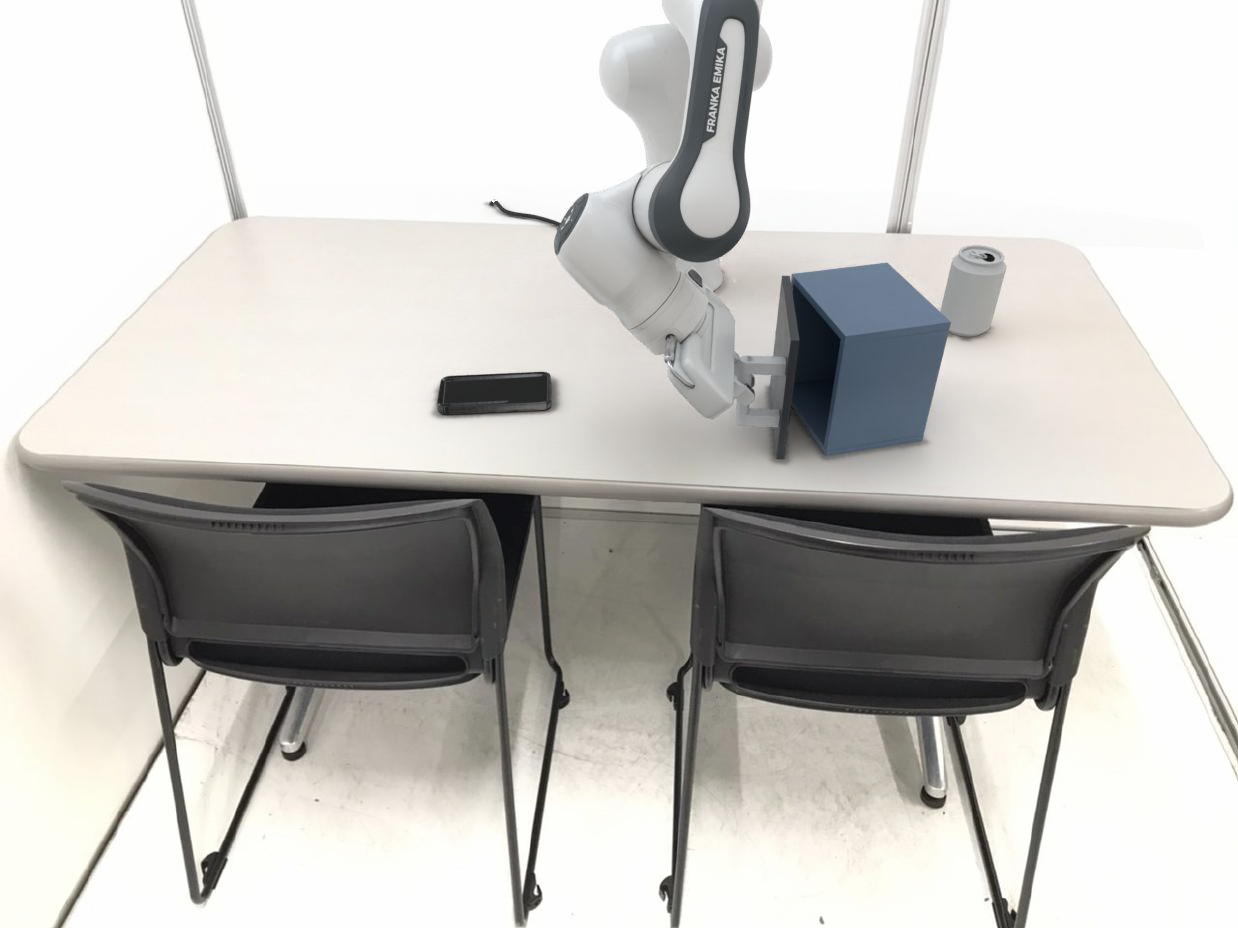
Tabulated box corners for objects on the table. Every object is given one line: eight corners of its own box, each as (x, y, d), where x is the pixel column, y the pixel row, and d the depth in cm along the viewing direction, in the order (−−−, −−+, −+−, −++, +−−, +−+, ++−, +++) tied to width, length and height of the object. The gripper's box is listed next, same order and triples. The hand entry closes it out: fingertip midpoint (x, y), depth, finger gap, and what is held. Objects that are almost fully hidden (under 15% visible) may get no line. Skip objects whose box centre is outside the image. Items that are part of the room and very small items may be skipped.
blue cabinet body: (825, 456, 112) (845, 336, 101) (778, 387, 124) (791, 273, 114) (922, 441, 114) (951, 322, 104) (866, 375, 126) (887, 262, 116)
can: (992, 341, 133) (1013, 266, 126) (939, 337, 134) (956, 262, 127) (986, 317, 139) (1006, 243, 132) (935, 312, 140) (952, 239, 133)
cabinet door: (732, 457, 112) (742, 338, 101) (730, 386, 124) (739, 274, 114) (784, 459, 111) (799, 340, 101) (776, 387, 124) (789, 275, 114)
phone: (441, 376, 125) (550, 371, 126) (442, 383, 126) (551, 377, 126) (436, 408, 119) (550, 402, 119) (437, 415, 119) (551, 410, 120)
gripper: (685, 346, 93) (773, 428, 98) (694, 260, 109) (769, 334, 114) (642, 381, 97) (729, 459, 102) (657, 292, 113) (731, 363, 118)
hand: (750, 392), depth 108 cm, fingers closed on cabinet door, 2 cm apart
